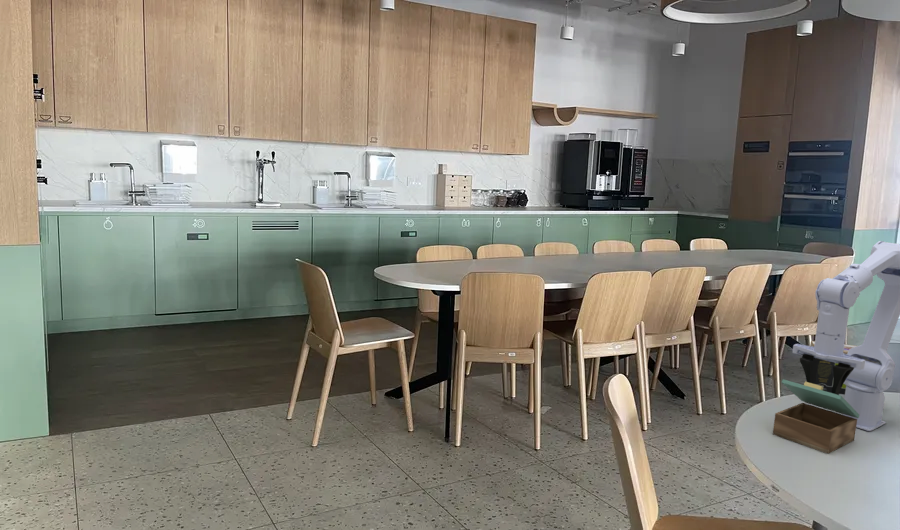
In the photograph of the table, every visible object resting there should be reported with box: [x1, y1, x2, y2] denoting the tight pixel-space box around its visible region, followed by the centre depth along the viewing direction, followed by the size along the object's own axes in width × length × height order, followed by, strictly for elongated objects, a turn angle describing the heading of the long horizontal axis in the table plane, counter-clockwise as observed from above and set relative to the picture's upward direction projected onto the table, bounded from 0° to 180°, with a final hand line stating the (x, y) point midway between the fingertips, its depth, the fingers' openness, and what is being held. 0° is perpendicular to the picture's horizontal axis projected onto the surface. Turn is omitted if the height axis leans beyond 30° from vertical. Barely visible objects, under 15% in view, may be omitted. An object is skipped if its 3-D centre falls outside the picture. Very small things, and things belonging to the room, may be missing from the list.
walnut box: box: [772, 402, 857, 455], centre depth 153 cm, size 13×12×5 cm
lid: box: [781, 378, 859, 418], centre depth 152 cm, size 14×12×2 cm
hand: (822, 391), depth 152 cm, fingers open, 5 cm apart
